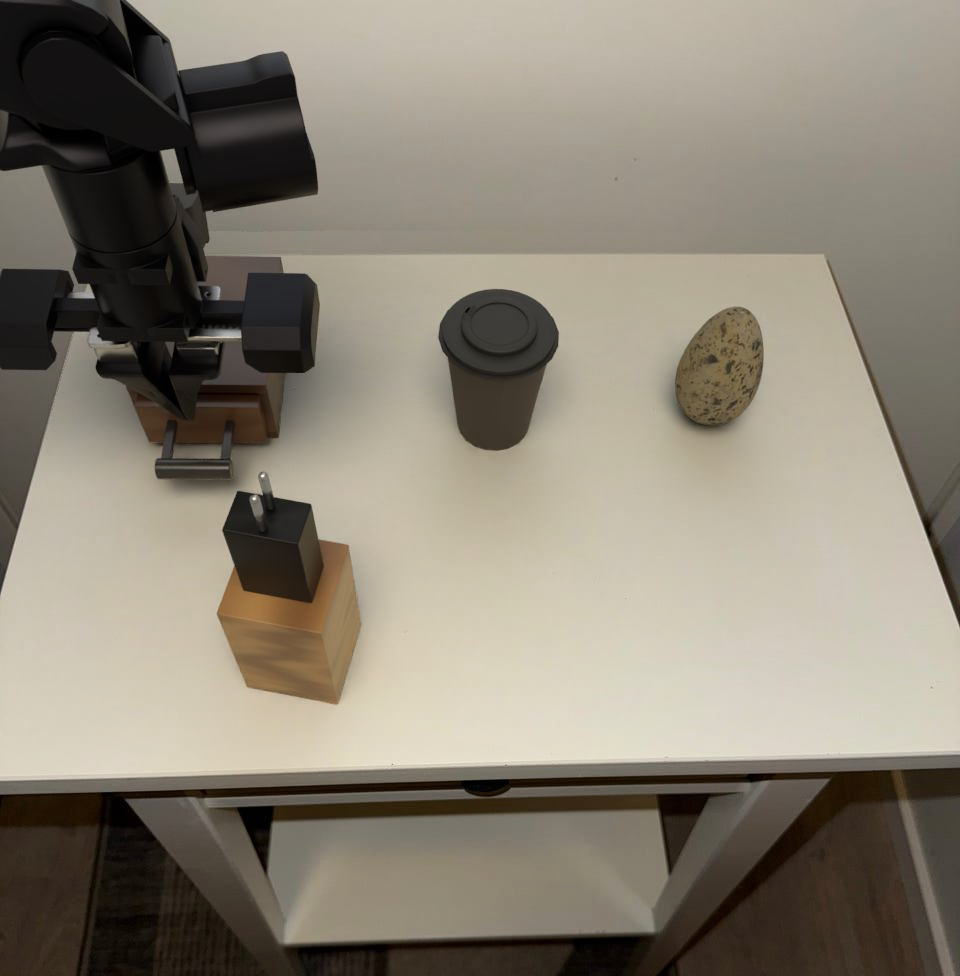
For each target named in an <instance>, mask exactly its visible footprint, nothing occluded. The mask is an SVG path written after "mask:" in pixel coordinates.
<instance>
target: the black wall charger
mask: <svg viewBox="0 0 960 976" xmlns="http://www.w3.org/2000/svg"><path fill="white" fill-rule="evenodd" d="M257 478H258V479H257V480H258V482H259V486H260V489H261V493H262V494H260V493H253V492H248V491H243V490H237V491H236V493H235V496H234V497H233V500H232V503H231V506H230V509H229V511H228V514H227V516H226V518H225V521H224V524H223V526H222V529H221V531H222V534H223V537H224V541H225V544H226V545H227V548H228V551H229V554H230V557H231V560H232V563H233V567H234V566H235V569H236V571H237V574H238V577H239V580H240V583H241V586H242V588H243V590H244V591H248V592H253V593H259V594H264V595H269V596H275V597H280V598H285V599H291V600H296V601H301V602H307V603H312V601H313V598H314V595H315V592H316V589H317V586H318V583H319V580H320V577H321V573H322V570H323V567H324V564H323V559H322V554H321V549H320V544H319V535H318V530H317V526H316V525H317V524H316V521H315V516H314V510H313V507H312V503H310V502H303V501H297V500H292V499H286V498H283V497H276V496H274V493H273V489H272V485H271V481H270V477H269V474H268V473H267V472H266V471H260V472H259V473H258V475H257Z"/></svg>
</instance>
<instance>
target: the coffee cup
mask: <svg viewBox="0 0 960 976" xmlns="http://www.w3.org/2000/svg"><path fill="white" fill-rule="evenodd" d="M437 335H438V336H437V338H438V341H439V344H440V348H441V351H442V353H443V354H444V355H445V357H446V358H447V363H448V369H449V370H448V371H449V375H450V383H451V390H452V396H453V403H454V409H455V416H456V417H455V418H456V423H457V426H458V430H459V433H460V435H461V436H462V437H463V439H464V440H465V441H466V442H467V443H468V444H471V445H472V446H474V447H476V448H478V449H483V450H484V451H494V452H495V451H502V450H507V449H510V448H512V447H515V446H516V445H518V444H519V443H520V442H521V441H522V440H523V439H524V438H525V436H526V434H527V433H528V430H529V427H530V424H531V420H532V417H533V413H534V410H535V406H536V403H537V400H538V396H539V393H540V389H541V386H542V382H543V379H544V375H545V373H546V372H545V371H546V369H547V366H548V365H547V364H549V363H550V362H551V361H552V360H553V358H554V356H555V354H556V352H557V350H558V348H559V339H560V331H559V329H558V326H557V324H556V321H555V319H554V317H553V316H552V315H551V313H550V312H549V310H548V308H546V307H545V306H544V305H543V304H542V303H541V302H539V301H538V300H536V299H535V298H533V297H531V296H530V295H527V294H525V293H522V292H520V291H517V290H512V289H505V288H490V289H482V290H477V291H474V292H472V293H469V294H467V295H465V296H463V297H461V298H459V300H457V301H455V303H454V304H452V305H451V306H450V307H449V308H448V309H447V310H446V312H445V314H444V316H443V317H442V319H441V321H440V322H439V327H438V334H437Z"/></svg>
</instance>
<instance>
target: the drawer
mask: <svg viewBox="0 0 960 976" xmlns="http://www.w3.org/2000/svg"><path fill="white" fill-rule="evenodd" d="M135 409H136V410H135ZM134 410H135V412H136V411H137V412H136V415H137V414H138V415H137V417H138V416H139V417H138V420H139V419H140V420H139V422H140V421H141V422H140V424H141V423H142V425H141V427H142V426H143V427H142V429H143V428H144V429H143V432H144V431H145V432H144V434H145V433H146V434H145V436H147V437H146V438H147V441H148V443H163V444H162V449H161V456H160V457H157V458H155V461H154V474H155V477H156V479H157V480H221V481H223V480H224V481H227V480H228V481H229V480H231V481H232V480H233V479H234V475H235V474H234V473H235V467H234V462H233V459H232V455H233V448H234V444H267V443H268V439H269V438H268V427H267V423H266V419H265V415H264V411H263V407H262V403H261V398H260V395H257V393H198V396H197V404H196V411H195V418H194V420H181V419H179V418H178V417H176V416H175V415H173V414H172V413H170V412H169V411H167V410H166V409H164V408H163V407H161V406H160V405H158V404H157V403H155V402H154V401H152V400H151V399H149V398H147V397H146V396H144V395H142V394H137V397H136V402H135V408H134ZM177 443H179V444H185V443H186V444H221V451H220V452H221V453H220V458H196V457H195V458H193V457H192V458H188V457H187V458H186V457H185V458H183V457H182V458H181V457H179V458H178V457H176V458H175V457H174V451H175V445H176V444H177Z"/></svg>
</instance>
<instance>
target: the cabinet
mask: <svg viewBox="0 0 960 976" xmlns="http://www.w3.org/2000/svg"><path fill="white" fill-rule="evenodd" d="M205 257H206V261H207V265H208V273H207V279H206V282H198V283H197V284H198V286H219V287H220V289H221V300H239V301H244V300H245V292H246V285H247V278H248V273H285V272H284V267H283V260H282V256H256V255H255V256H252V255H251V256H249V255H205ZM165 343H166V345H167V348H168V350H169V353H170V355H171V358H172V355H173V349H174V344H175V342H165ZM285 377H286V373H260V372H259V371H257V370H255V369H254V368H252V367H251V366H249V365H247V364H246V363H245V360H244V356H243V352H242V341H241V342H239V341H225V348H224V355H223V362H222V369H221V374H220V376H219V377H218V378H216V379H214V380H204V381H203V382H202V385H201V387H200V389H199V391H198V393H257V395H260V398H261V403H262V407H263V411H264V415H265V419H266V423H267V427H268V438H267V439H279V438H280V429H281V428H280V427H281V426H280V425H281V418H282V408H283V397H284V389H285V379H286V378H285ZM124 386H125V388H126V391H127V393H128V396H129V398H130V401H131V403H132V405H133V408H134V410H135V412H136V415H137V417H138V420H139V422H140V424H141V427H142V429H143V432H144V434H145V436H146V433H145V431H144V428H143V426H142V423H141V421H140V419H139V416H138V414H137V411H136V409H135V402H136V397H137V394H140V393H139V392H137V391H135V390H133V389H131V388H129V387H127V386H126V385H124ZM146 438H147V436H146Z"/></svg>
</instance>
